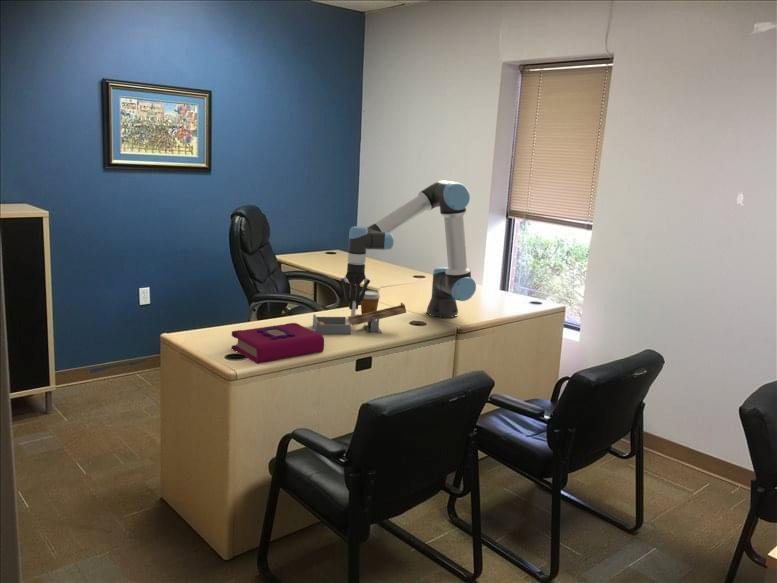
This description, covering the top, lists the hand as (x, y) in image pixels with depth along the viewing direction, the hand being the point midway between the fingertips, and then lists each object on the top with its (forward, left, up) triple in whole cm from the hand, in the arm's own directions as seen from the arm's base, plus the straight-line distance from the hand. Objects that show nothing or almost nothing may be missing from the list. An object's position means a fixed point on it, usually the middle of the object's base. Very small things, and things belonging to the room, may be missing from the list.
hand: (353, 316), depth 281 cm
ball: (+15, +5, -3) cm, 16 cm away
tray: (+10, +5, -5) cm, 12 cm away
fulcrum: (-8, +5, -5) cm, 11 cm away
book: (+34, +33, -5) cm, 48 cm away
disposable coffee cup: (-10, -15, -5) cm, 18 cm away
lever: (-10, +2, +1) cm, 10 cm away
